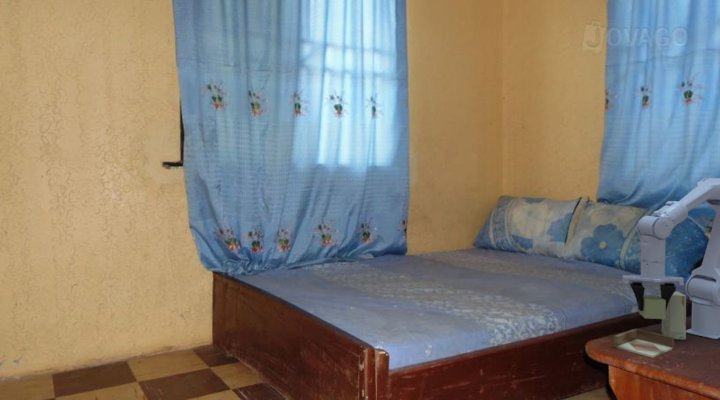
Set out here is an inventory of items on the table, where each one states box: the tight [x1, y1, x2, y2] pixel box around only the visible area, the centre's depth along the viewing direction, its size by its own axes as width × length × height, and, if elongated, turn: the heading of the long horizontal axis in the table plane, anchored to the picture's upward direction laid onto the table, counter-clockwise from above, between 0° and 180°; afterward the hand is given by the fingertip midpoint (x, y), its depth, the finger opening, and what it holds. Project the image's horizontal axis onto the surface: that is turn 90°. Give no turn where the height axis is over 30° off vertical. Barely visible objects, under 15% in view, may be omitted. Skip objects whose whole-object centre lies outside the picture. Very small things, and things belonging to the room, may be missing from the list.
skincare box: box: [661, 291, 687, 340], centre depth 149 cm, size 6×4×12 cm
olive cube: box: [638, 295, 666, 320], centre depth 145 cm, size 5×5×5 cm
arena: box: [613, 328, 675, 358], centre depth 140 cm, size 11×10×3 cm
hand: (651, 310), depth 145 cm, fingers closed on olive cube, 5 cm apart
